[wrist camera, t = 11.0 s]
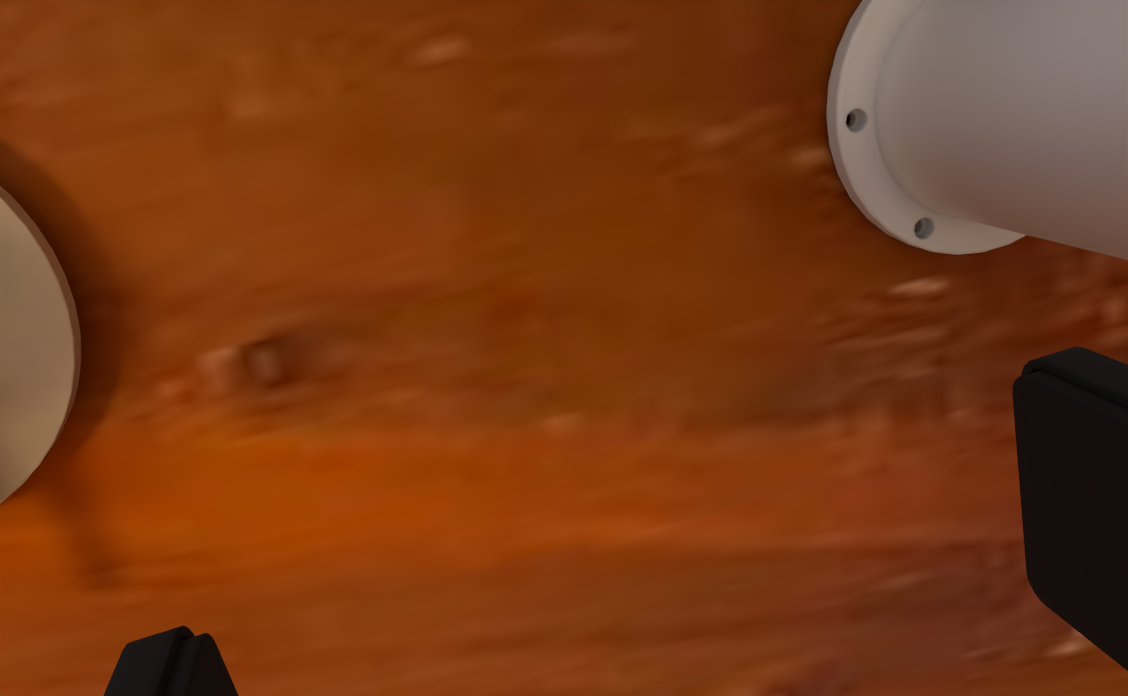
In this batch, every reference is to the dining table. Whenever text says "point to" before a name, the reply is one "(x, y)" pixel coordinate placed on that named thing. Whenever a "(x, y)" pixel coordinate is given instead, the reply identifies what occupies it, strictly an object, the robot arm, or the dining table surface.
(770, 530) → the dining table surface
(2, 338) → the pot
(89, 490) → the dining table surface
